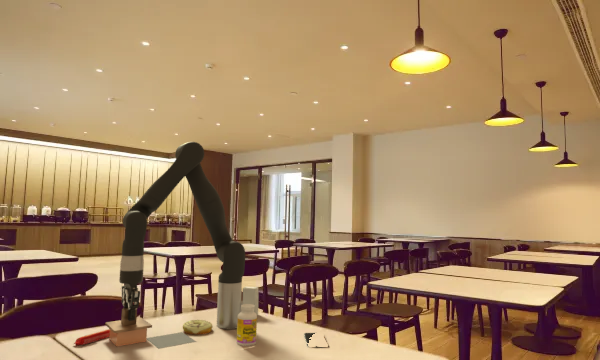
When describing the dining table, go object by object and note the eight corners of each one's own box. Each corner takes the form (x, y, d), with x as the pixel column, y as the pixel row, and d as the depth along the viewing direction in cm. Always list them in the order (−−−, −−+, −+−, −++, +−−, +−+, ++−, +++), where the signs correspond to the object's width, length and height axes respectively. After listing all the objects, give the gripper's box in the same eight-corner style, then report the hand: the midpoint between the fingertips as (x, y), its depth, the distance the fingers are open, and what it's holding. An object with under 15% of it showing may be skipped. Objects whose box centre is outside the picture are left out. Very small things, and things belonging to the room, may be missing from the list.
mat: (181, 333, 146) (181, 332, 146) (196, 342, 136) (196, 341, 136) (145, 339, 138) (145, 338, 138) (158, 349, 128) (158, 348, 128)
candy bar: (113, 334, 145) (114, 325, 145) (120, 335, 143) (121, 327, 143) (71, 346, 130) (72, 337, 131) (78, 348, 129) (79, 339, 129)
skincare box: (258, 314, 176) (259, 286, 177) (255, 317, 172) (256, 288, 173) (245, 313, 177) (246, 285, 178) (241, 316, 173) (242, 287, 174)
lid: (141, 319, 145) (142, 303, 145) (152, 327, 136) (152, 310, 136) (105, 324, 137) (106, 307, 138) (114, 333, 128) (115, 314, 129)
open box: (137, 335, 143) (138, 320, 143) (146, 342, 135) (147, 327, 136) (109, 339, 137) (110, 325, 137) (116, 347, 129) (117, 331, 130)
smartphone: (307, 346, 134) (303, 332, 149) (307, 349, 134) (303, 335, 149) (329, 346, 134) (323, 332, 149) (329, 349, 134) (323, 335, 149)
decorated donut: (196, 338, 141) (196, 327, 142) (176, 333, 147) (177, 322, 148) (217, 331, 150) (218, 321, 150) (198, 326, 156) (198, 316, 156)
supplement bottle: (240, 348, 132) (241, 308, 133) (233, 342, 138) (235, 304, 139) (259, 345, 135) (260, 306, 136) (252, 339, 141) (253, 302, 142)
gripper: (149, 270, 135) (146, 321, 133) (136, 265, 146) (134, 312, 145) (126, 271, 130) (123, 325, 129) (115, 266, 141) (112, 315, 140)
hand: (129, 318), depth 137 cm, fingers open, 5 cm apart
